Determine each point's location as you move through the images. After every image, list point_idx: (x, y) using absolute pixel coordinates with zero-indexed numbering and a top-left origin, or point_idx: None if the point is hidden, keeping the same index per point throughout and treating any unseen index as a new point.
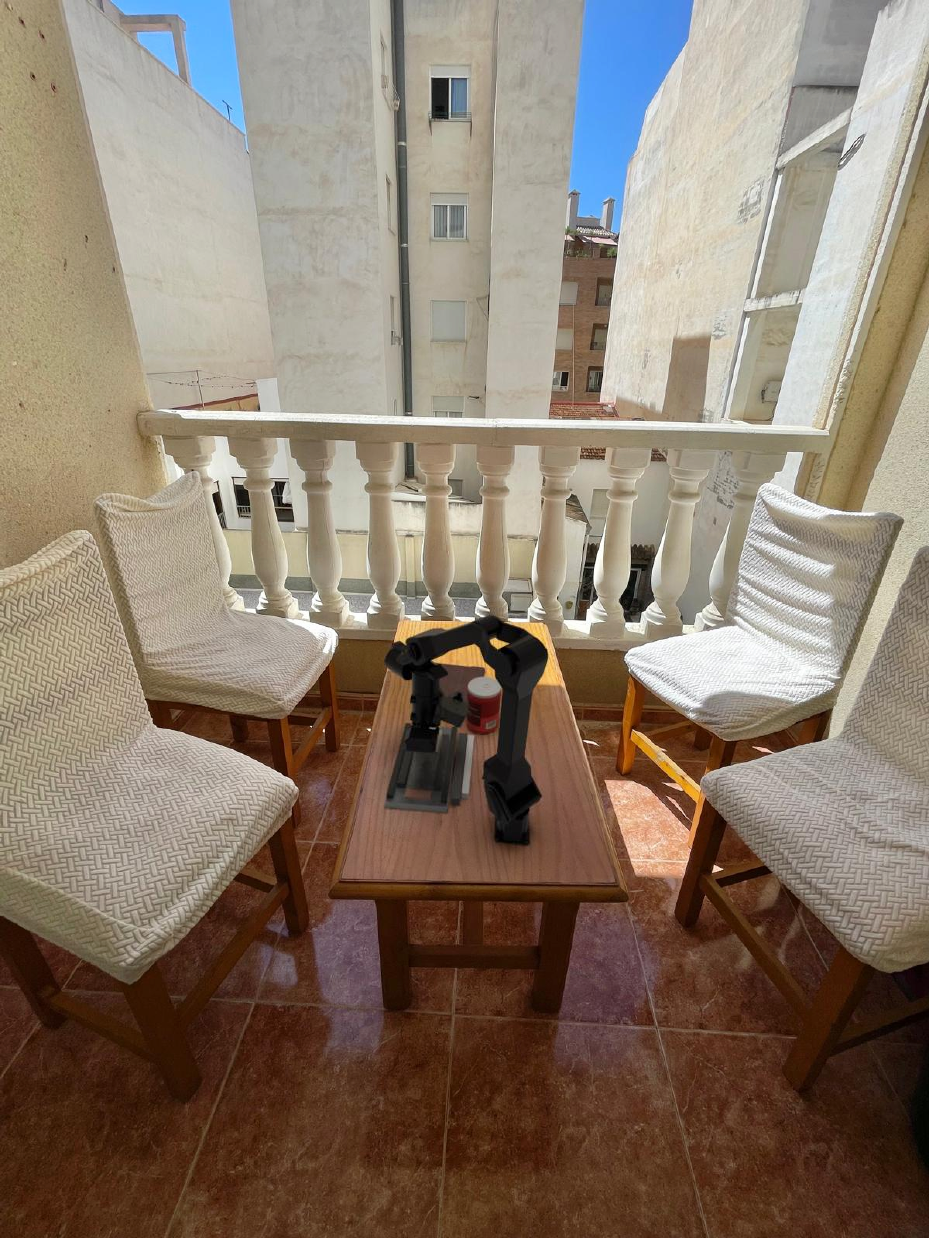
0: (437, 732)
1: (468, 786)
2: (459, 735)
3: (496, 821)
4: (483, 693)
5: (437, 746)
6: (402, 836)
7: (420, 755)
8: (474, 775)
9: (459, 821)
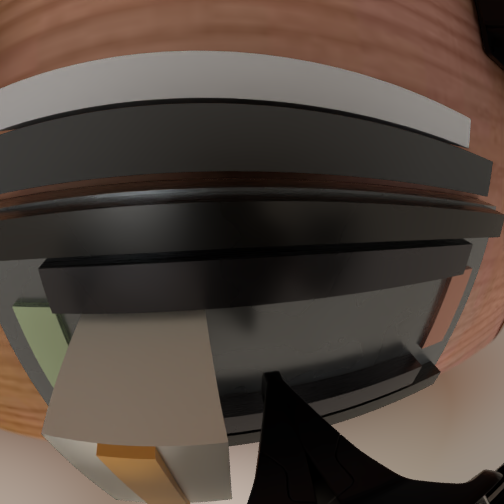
0: (476, 499)
1: (446, 111)
2: (11, 187)
3: (502, 60)
4: None
5: (208, 335)
6: (485, 293)
7: (243, 369)
8: (332, 58)
9: (495, 161)
